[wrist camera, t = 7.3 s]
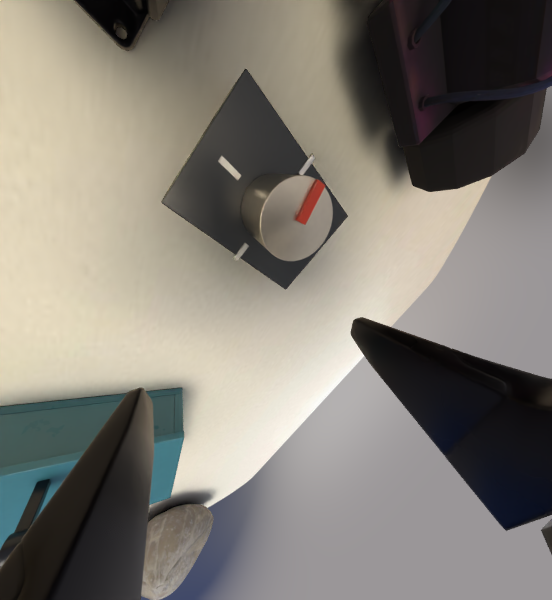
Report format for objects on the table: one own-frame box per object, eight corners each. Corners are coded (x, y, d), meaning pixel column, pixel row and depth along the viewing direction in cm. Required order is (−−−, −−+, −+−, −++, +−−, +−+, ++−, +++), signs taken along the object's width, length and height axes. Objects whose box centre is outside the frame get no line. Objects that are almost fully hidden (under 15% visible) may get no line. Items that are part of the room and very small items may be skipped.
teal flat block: (-13, 407, 17) (-77, 487, 12) (182, 387, 24) (183, 433, 19) (15, 478, 21) (-24, 553, 17) (171, 444, 28) (170, 491, 24)
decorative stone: (141, 579, 38) (89, 691, 24) (131, 513, 41) (79, 580, 27) (221, 527, 42) (215, 597, 29) (207, 472, 45) (195, 511, 32)
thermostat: (161, 200, 14) (158, 207, 11) (236, 81, 12) (250, 60, 10) (271, 278, 21) (284, 293, 18) (329, 207, 19) (352, 213, 16)
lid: (-82, 483, 12) (-197, 623, 8) (184, 430, 19) (185, 494, 15) (-24, 554, 17) (-81, 662, 13) (170, 491, 24) (169, 550, 20)
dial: (282, 250, 16) (310, 272, 13) (230, 227, 14) (247, 247, 10) (310, 194, 15) (350, 202, 11) (257, 158, 12) (287, 154, 9)
